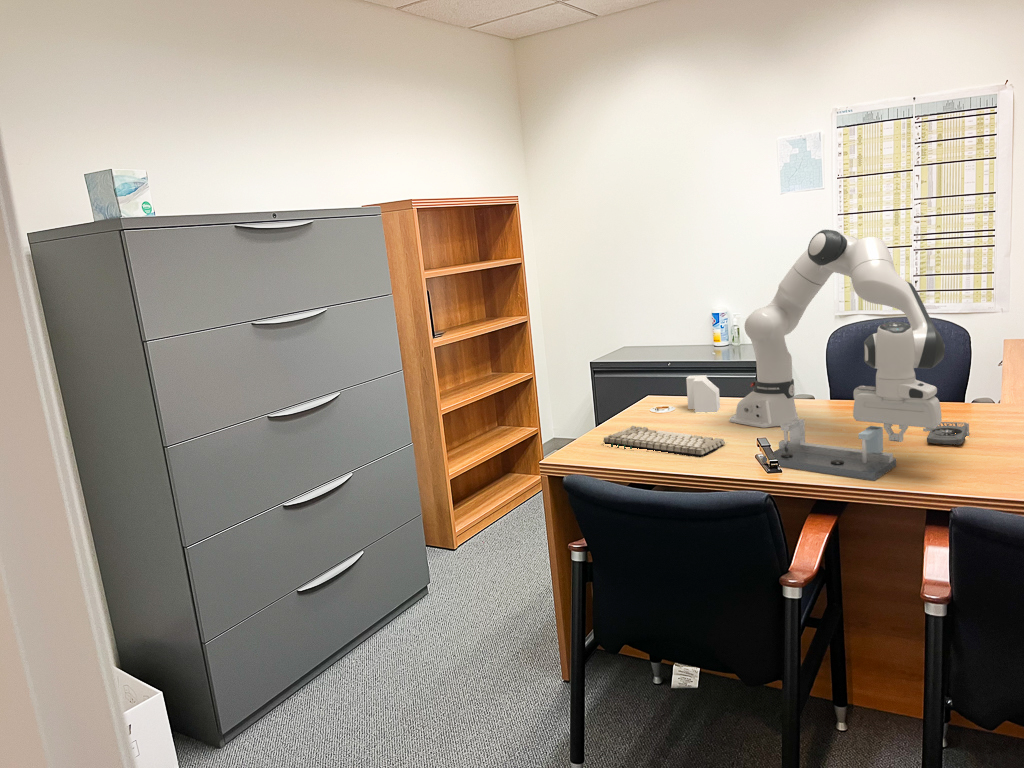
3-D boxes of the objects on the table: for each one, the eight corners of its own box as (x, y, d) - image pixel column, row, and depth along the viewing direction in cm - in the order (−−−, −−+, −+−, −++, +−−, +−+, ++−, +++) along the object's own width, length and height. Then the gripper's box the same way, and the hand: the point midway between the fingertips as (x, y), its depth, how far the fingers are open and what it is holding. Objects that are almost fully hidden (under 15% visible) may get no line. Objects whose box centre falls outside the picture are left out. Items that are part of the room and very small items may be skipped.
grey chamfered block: (690, 406, 285) (688, 375, 283) (721, 406, 280) (719, 374, 278) (685, 413, 275) (683, 381, 273) (717, 413, 271) (715, 380, 269)
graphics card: (923, 420, 223) (970, 421, 216) (923, 432, 224) (970, 434, 217) (914, 435, 210) (964, 437, 203) (915, 448, 210) (964, 450, 203)
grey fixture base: (762, 464, 208) (761, 426, 206) (787, 451, 217) (785, 415, 215) (874, 480, 186) (873, 439, 184) (896, 465, 195) (895, 426, 193)
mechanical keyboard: (731, 444, 232) (731, 433, 231) (701, 461, 218) (700, 450, 218) (630, 433, 257) (629, 424, 257) (597, 448, 244) (596, 438, 243)
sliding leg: (857, 462, 191) (857, 433, 190) (871, 454, 197) (870, 425, 196) (869, 464, 189) (869, 434, 188) (883, 455, 195) (882, 426, 194)
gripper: (848, 387, 193) (849, 439, 195) (934, 393, 178) (934, 449, 180) (858, 382, 197) (859, 433, 199) (944, 387, 182) (943, 442, 185)
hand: (895, 440), depth 190 cm, fingers closed
